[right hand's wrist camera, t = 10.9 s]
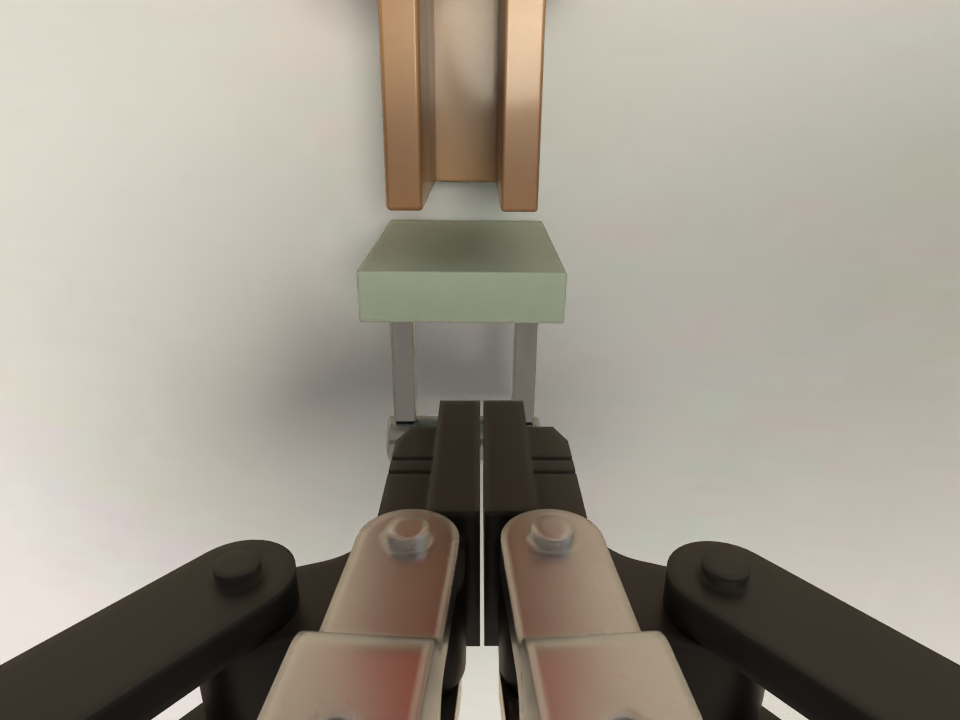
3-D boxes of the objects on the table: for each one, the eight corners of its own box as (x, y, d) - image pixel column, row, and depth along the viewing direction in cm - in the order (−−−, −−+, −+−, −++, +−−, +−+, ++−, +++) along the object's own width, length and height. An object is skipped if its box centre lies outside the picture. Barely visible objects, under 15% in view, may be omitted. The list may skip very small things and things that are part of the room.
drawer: (534, 405, 23) (553, 512, 17) (398, 404, 23) (370, 510, 17) (575, -564, 15) (639, -1001, 9) (360, -566, 15) (280, -1007, 9)
